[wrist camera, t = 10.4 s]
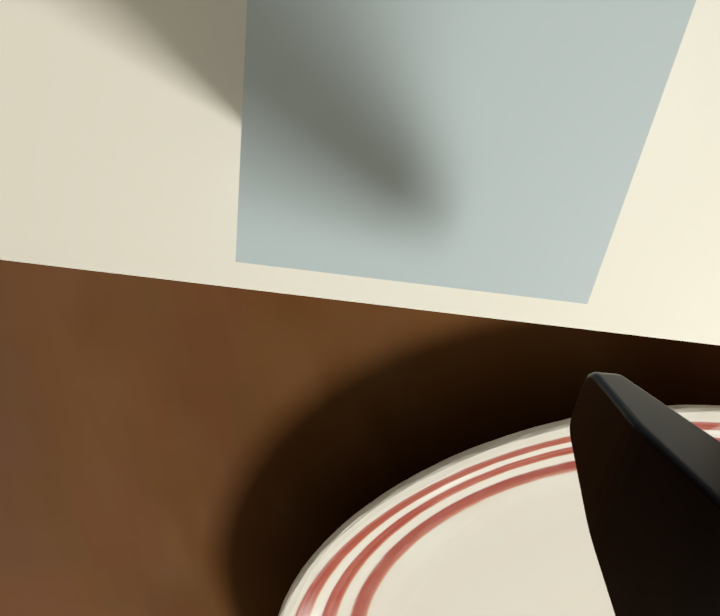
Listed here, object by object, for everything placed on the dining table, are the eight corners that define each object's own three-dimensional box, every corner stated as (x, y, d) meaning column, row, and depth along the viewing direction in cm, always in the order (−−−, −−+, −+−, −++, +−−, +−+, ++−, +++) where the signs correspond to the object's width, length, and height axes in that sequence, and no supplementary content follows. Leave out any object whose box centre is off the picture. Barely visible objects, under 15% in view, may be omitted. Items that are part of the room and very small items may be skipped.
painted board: (46, 214, 20) (0, 259, 18) (-27, -439, 13) (-120, -522, 11) (678, 293, 22) (721, 345, 19) (921, -261, 15) (1041, -297, 12)
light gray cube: (275, 148, 16) (235, 261, 11) (296, -149, 13) (254, -182, 8) (517, 180, 17) (587, 304, 12) (592, -101, 14) (733, -103, 8)
